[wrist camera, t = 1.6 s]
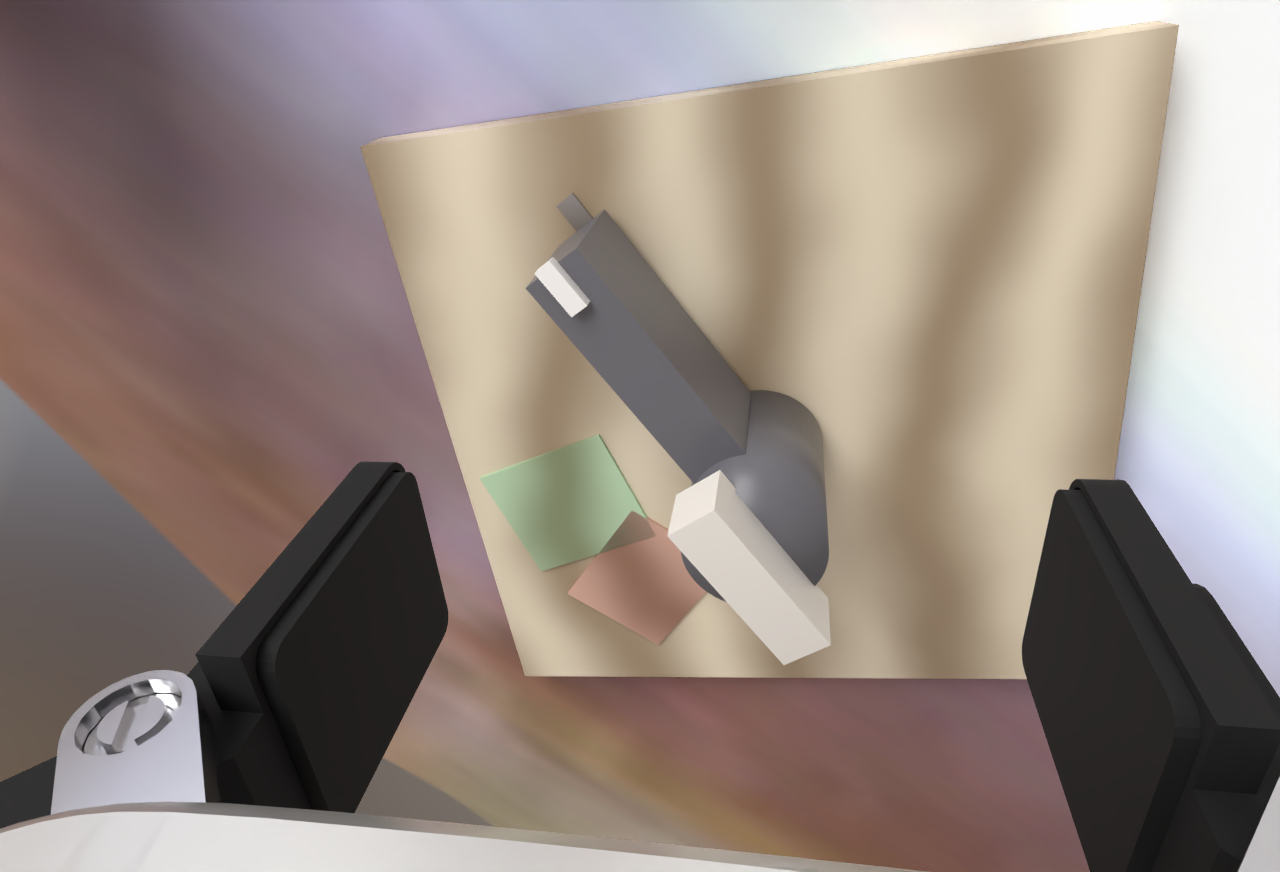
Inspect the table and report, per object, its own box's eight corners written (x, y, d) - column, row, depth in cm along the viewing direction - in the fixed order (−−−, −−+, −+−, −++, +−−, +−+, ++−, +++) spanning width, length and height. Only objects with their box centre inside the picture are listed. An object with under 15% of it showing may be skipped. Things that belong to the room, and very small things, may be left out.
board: (1157, 20, 23) (1181, 25, 22) (1074, 652, 35) (1086, 682, 33) (379, 137, 28) (358, 147, 27) (534, 652, 40) (524, 678, 38)
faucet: (855, 470, 30) (874, 626, 23) (755, 523, 32) (744, 682, 25) (631, 178, 26) (571, 261, 19) (531, 258, 28) (445, 361, 21)
